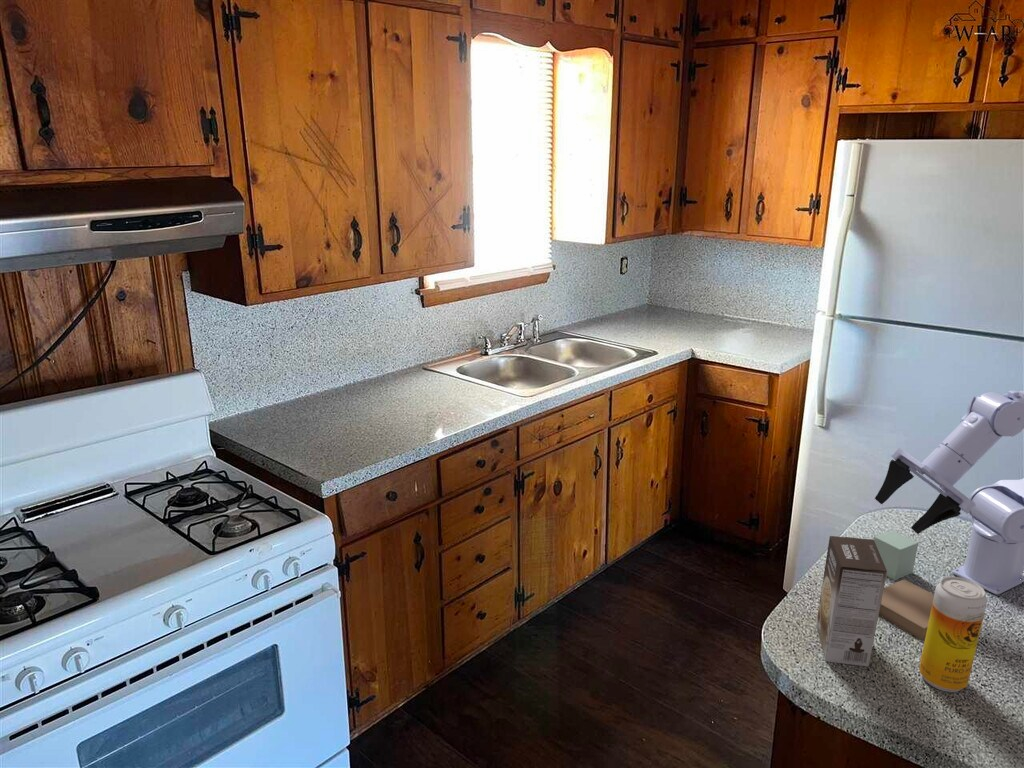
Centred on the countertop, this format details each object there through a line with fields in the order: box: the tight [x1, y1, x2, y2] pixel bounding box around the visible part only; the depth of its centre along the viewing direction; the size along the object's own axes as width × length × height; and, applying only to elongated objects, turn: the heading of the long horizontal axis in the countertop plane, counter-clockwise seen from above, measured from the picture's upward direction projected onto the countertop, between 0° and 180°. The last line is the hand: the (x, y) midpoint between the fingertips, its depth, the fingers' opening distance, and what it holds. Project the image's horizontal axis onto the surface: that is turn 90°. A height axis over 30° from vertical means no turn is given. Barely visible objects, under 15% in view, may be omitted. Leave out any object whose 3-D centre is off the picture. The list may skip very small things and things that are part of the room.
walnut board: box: [879, 578, 935, 641], centre depth 123 cm, size 10×10×2 cm
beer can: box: [918, 576, 988, 693], centre depth 106 cm, size 6×6×15 cm
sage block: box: [873, 529, 919, 581], centre depth 135 cm, size 5×5×6 cm
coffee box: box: [815, 535, 887, 667], centre depth 113 cm, size 9×6×16 cm
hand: (895, 516), depth 127 cm, fingers open, 7 cm apart
